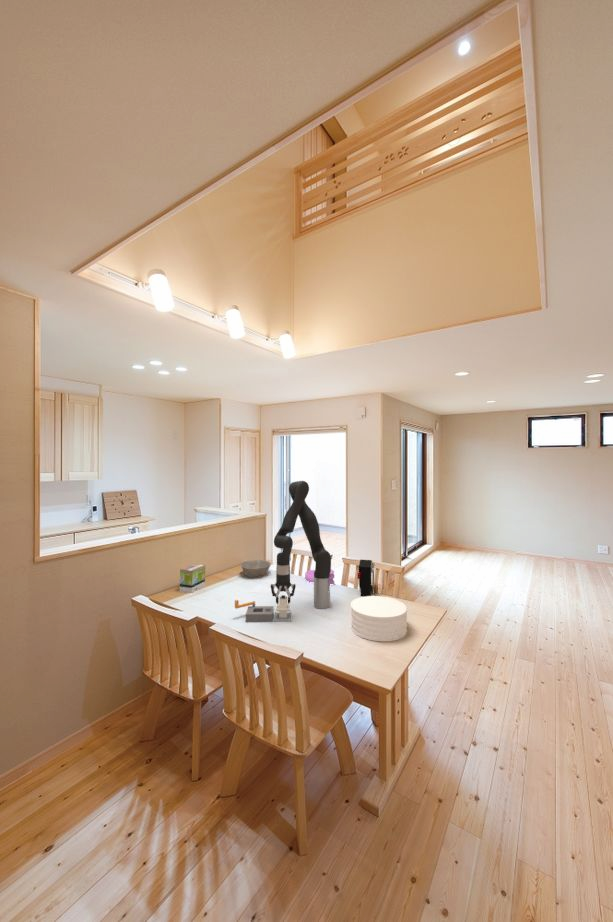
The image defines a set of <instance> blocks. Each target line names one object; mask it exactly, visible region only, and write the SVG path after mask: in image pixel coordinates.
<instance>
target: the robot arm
mask: <svg viewBox="0 0 613 922" xmlns="http://www.w3.org/2000/svg"><path fill="white" fill-rule="evenodd" d="M309 486H310V485H309V483H308V482H307V481H305V480H299V481H298V480H297V481H293V482H291V483H290V484H289V486H288V492H289V495H290V498H291V499H292V503H291V505H290V507H289V508H288V510H287V511H286V513H285V515H284V517H283V520H282V524H281V526H280V528H279V530H278V531H277V532H276V534H275V536H274V539H273V544H274V547H275V548H277V549H282V551H281V552H278V553H277V555H276V569H275V577H276V578H275V583H274V584H272V583H271V584H270V590H271V595H272V597H275V604H277V605H279V599H280V596H279V594H280V592H286V594H287V595H286V596H287V605H289V604H290V603H291V597H294V595H295V590H296V586H297V585H296V583H294V584H293V583H291V565H290V564H291V563H290V562H291V561H290V560H291V559H290V557H291V552H292V550H293V545H294V542H293V539H292V537H291V536H288V534H291V533H293V532H294V530H295V528H296V527H295V526H296V523H297V519H298V517H299V521H300V524H301V526H302V529H303V532H304V534H305V537H306V539H307V541H308V543H309V548H310V551H311V555H312V560H313V561H314V562H315V569H314V570H315V571H314V583H313V607H314V608H315V609H318V610H326V609H330V608H331V586H330V572H331V569H332V556H331V554H330V552H329V551H328V550H326V547H325V546H324V544H323V542H322V538H321V531H320V525H319V521H318V519H317V516H316V513H314V511H313V510H312V509H311V508H310V507H309V505H308V504H307V502H306V498H307V496H308V494H309V491H310V487H309ZM275 588H276V589H277V591H276V592H275ZM289 588H291V589H292V591H291V593H290V589H289Z"/></svg>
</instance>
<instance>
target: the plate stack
mask: <svg viewBox="0 0 613 922" xmlns="http://www.w3.org/2000/svg"><path fill="white" fill-rule="evenodd" d="M407 609H408V608H407V606H406V605H405V603H403V602H402V601H400V600H398V599H395V598H392V597H387V596H380V595H378V596H377V595H374V596H366V597H362V596H359V597H357V598H355V599H353V600H352V601H351V602H350V629H351V632H352V633H354V634H355V635H357V636H358V637H360V638H362V639H365V640H369V641H373V642H385V643H386V642H393V641H397V640H401V639H403V638H404V637H405V636H406V635H407V631H408V629H407V627H408V623H407V622H408V621H407V620H408V616H407V615H408V613H407V612H408V610H407Z"/></svg>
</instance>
